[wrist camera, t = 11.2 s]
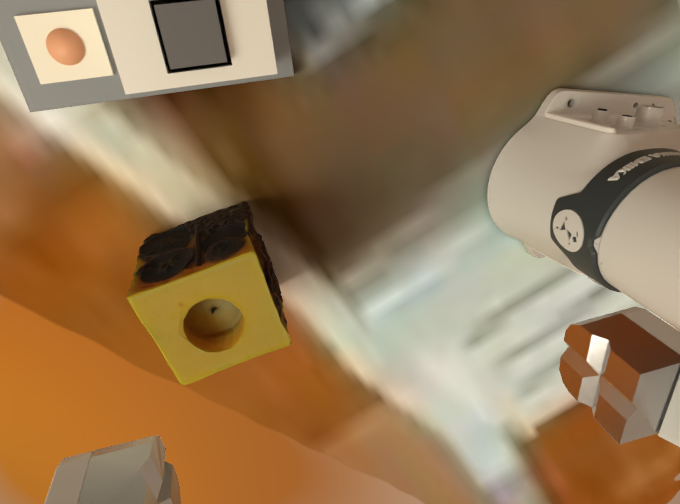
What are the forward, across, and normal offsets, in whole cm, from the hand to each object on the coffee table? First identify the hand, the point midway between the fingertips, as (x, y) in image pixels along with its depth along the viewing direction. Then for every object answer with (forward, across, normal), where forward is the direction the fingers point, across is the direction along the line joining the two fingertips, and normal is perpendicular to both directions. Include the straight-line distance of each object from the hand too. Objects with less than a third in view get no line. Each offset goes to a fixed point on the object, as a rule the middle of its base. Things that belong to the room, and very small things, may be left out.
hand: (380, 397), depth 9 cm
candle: (+34, +6, +14) cm, 38 cm away
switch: (+33, +3, -6) cm, 33 cm away
